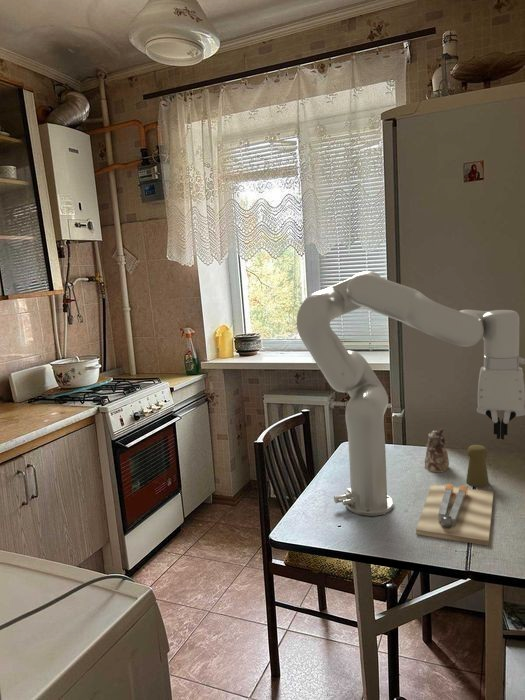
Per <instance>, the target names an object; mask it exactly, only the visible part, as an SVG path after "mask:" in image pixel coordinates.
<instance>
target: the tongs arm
mask: <svg viewBox="0 0 525 700" xmlns="http://www.w3.org/2000/svg"><path fill="white" fill-rule="evenodd" d="M468 486H469V485H462V484H460V486H459V487H458V488H459V492H458V494H457V497H456V499H455V502H454V504H453V507H452V509H451V512H450V514H449V516H447V515H443V516H441V526H442V527H444V528H450V527H455V526H456V523H457V520H458V518H459V515H460V512H461V509H462V507H463V504H464V501H465V498H466V497H467V494H468V489H469V488H468Z"/></svg>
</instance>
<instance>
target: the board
mask: <svg viewBox="0 0 525 700" xmlns="http://www.w3.org/2000/svg"><path fill="white" fill-rule="evenodd" d="M445 487H446V485H440V484H433V483H432V484H431V485H430V488H429V491H428V494H427V497H426V499H425V503H424V505H423V508H422V511H421V514H420V517H419V520H418V522H417V526H416V528H415V534H416V535H420V536H426V537H430V538H431V537H432V538H439V539H444V540H450V541H451V540H452V541H457V542H462V543H463V542H464V543H471V544H475V545H476V544H477V545H483V546H489V544H490V535H491V525H492V524H491V523H492V515H493V514H492V513H493V503H494V491H493V490H492V491H489V490H484V489H474V488H473V489H472V488H468V494H467V497H466V498H465V501H464V504H463V507H462V509H461V512H460V515H459V518H458V520H457V523H456V526H455V527H450V528H444V527H442V526H441V522H440V521H438V513H439V509H440V506H441V502H442V499H443V496H444V492H445ZM459 488H460V487H459V486H457V487H456V486H453V489H454V492H453V496H452V498H451V502H450V506H449V510H448V514H447V516H449V514H450V512H451V509H452V507H453V504H454V502H455V499H456V497H457V494H458V492H459ZM489 547H490V546H489Z"/></svg>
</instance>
